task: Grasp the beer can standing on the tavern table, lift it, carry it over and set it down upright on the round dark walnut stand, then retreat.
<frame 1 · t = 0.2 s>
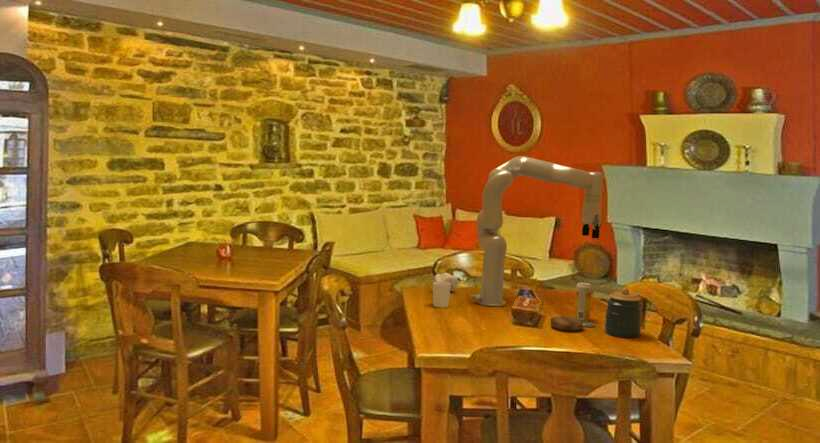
hand: (590, 236, 273), 31 cm above the table, tool pointing down, fingers open, 9 cm apart
stand: (566, 327, 233), on the table
white cup: (440, 306, 262), on the table
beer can: (581, 320, 247), on the table
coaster: (585, 324, 239), on the table
grey rounded block: (443, 292, 290), on the table
canister: (622, 334, 229), on the table
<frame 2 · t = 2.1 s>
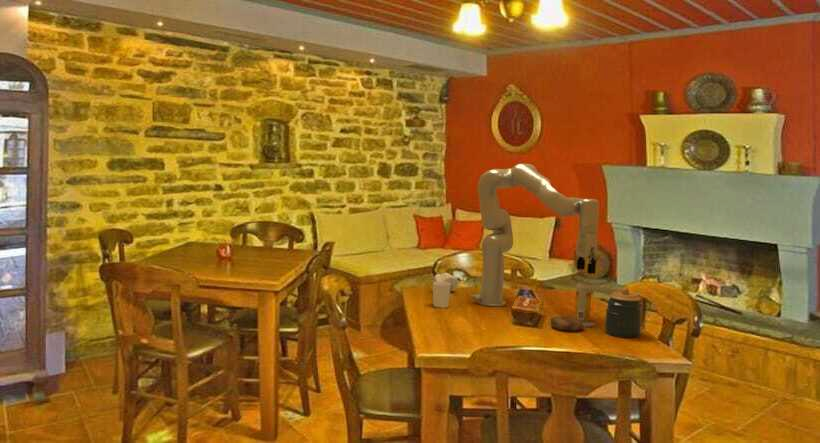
hand: (585, 271, 245), 20 cm above the table, tool pointing down, fingers open, 9 cm apart
nothing on the table moved.
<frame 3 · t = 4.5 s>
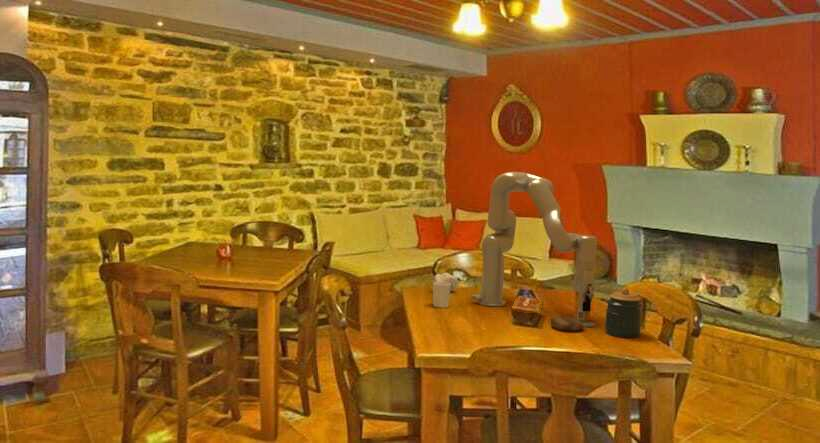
hand: (582, 308, 247), 5 cm above the table, tool pointing down, fingers closed on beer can, 6 cm apart
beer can: (581, 320, 247), on the table, touching gripper
everything else where it was.
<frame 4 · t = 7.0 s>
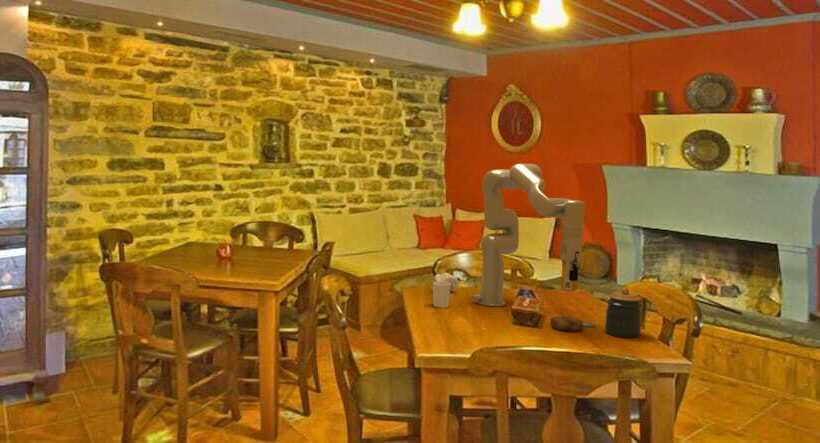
hand: (569, 278, 232), 19 cm above the table, tool pointing down, fingers closed on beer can, 6 cm apart
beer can: (568, 290, 232), point 15 cm above the table, touching gripper
everything else where it was.
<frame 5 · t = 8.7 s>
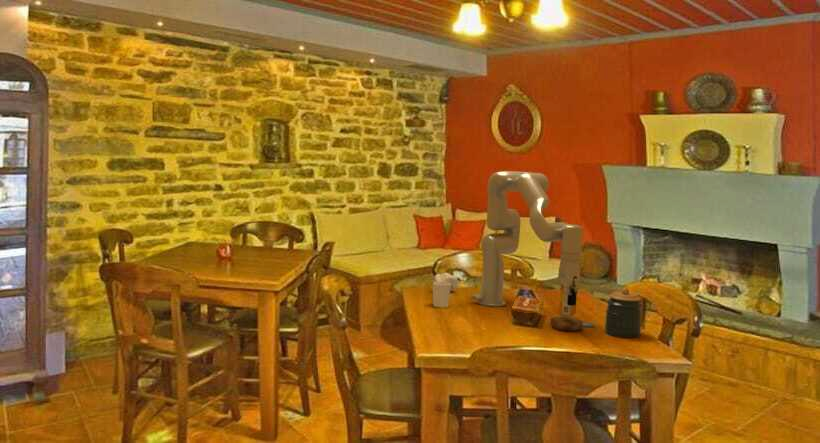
hand: (567, 302, 232), 10 cm above the table, tool pointing down, fingers closed on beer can, 6 cm apart
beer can: (567, 314, 233), point 5 cm above the table, touching gripper
everything else where it was.
when the fingers open (9 cm above the table, at t = 9.8 s): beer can drops 1 cm, resting on stand.
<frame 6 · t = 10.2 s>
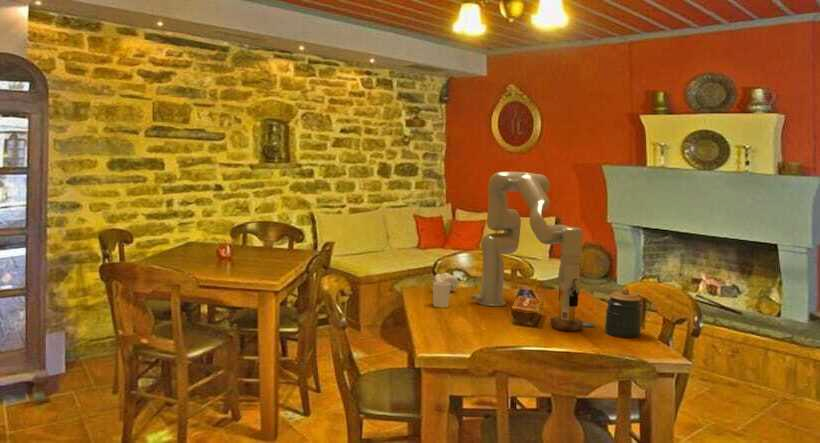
hand: (567, 303, 232), 10 cm above the table, tool pointing down, fingers open, 9 cm apart
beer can: (566, 320, 233), point 3 cm above the table, touching stand
everything else where it was.
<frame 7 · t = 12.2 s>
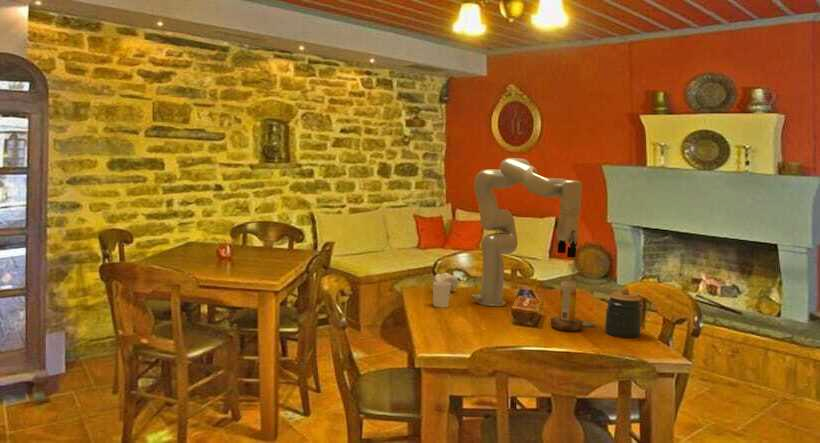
hand: (566, 255, 237), 28 cm above the table, tool pointing down, fingers open, 9 cm apart
nothing on the table moved.
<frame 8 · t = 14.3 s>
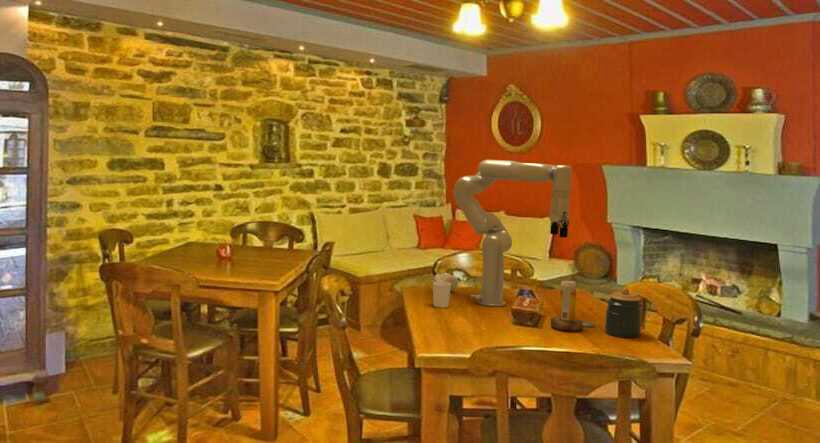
hand: (558, 235, 252), 33 cm above the table, tool pointing down, fingers open, 9 cm apart
nothing on the table moved.
at the end: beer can inside the target area on the stand (0.4 cm from its centre), point 2.8 cm above the stand's base; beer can tilted 0°; the gripper is holding nothing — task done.
